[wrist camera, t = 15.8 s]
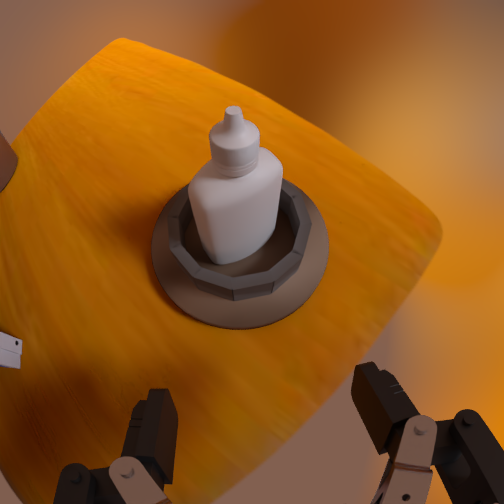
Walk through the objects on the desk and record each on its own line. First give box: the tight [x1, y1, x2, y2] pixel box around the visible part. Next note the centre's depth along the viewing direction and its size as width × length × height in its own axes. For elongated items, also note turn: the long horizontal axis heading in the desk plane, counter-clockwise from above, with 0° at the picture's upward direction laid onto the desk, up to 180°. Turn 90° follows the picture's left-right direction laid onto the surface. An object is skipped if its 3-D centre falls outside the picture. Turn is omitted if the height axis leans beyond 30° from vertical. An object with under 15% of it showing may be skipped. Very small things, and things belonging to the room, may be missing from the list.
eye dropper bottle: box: [188, 106, 283, 265], centre depth 17 cm, size 4×6×12 cm
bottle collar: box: [151, 178, 329, 330], centre depth 22 cm, size 14×14×4 cm
